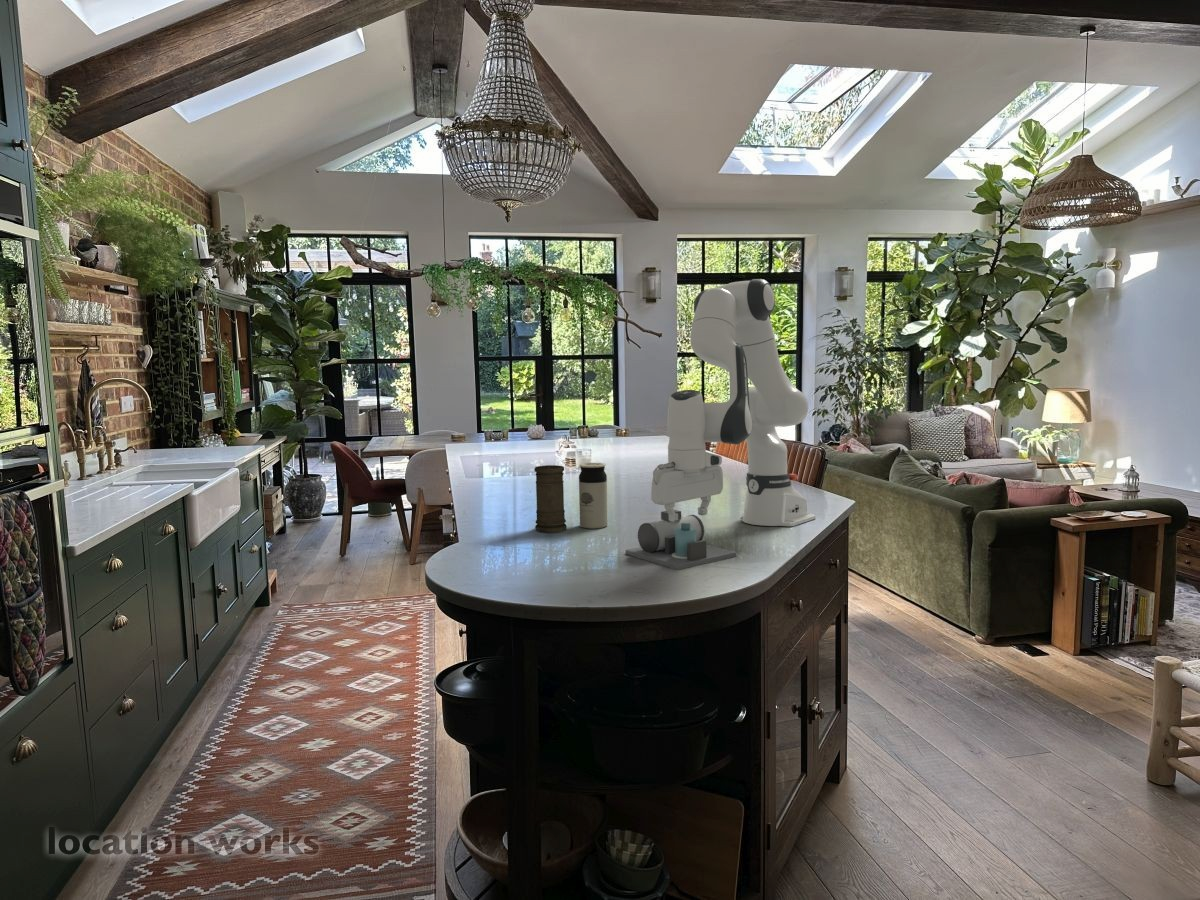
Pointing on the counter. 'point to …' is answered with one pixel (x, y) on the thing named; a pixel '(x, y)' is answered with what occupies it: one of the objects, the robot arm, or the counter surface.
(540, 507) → the container
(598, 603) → the counter surface
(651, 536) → the motor unit
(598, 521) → the travel mug
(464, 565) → the counter surface
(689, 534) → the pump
